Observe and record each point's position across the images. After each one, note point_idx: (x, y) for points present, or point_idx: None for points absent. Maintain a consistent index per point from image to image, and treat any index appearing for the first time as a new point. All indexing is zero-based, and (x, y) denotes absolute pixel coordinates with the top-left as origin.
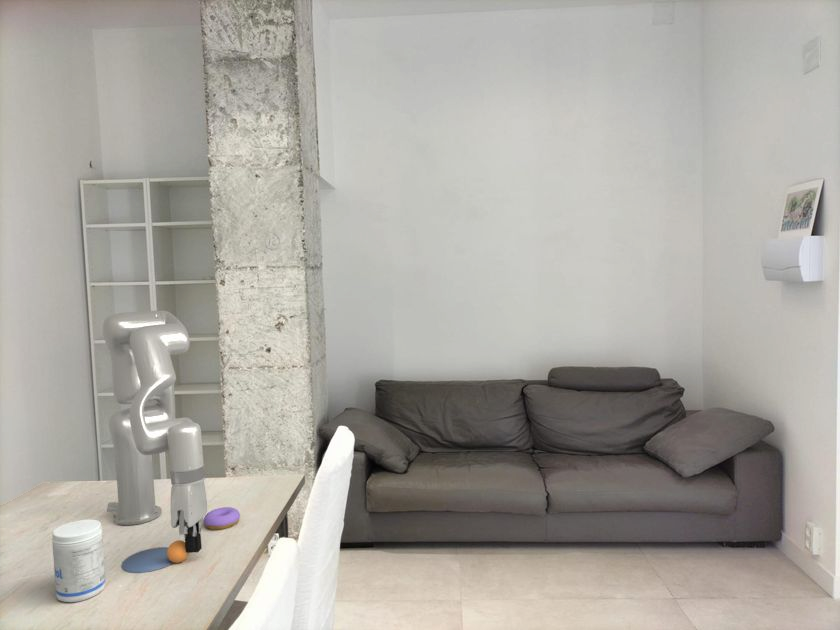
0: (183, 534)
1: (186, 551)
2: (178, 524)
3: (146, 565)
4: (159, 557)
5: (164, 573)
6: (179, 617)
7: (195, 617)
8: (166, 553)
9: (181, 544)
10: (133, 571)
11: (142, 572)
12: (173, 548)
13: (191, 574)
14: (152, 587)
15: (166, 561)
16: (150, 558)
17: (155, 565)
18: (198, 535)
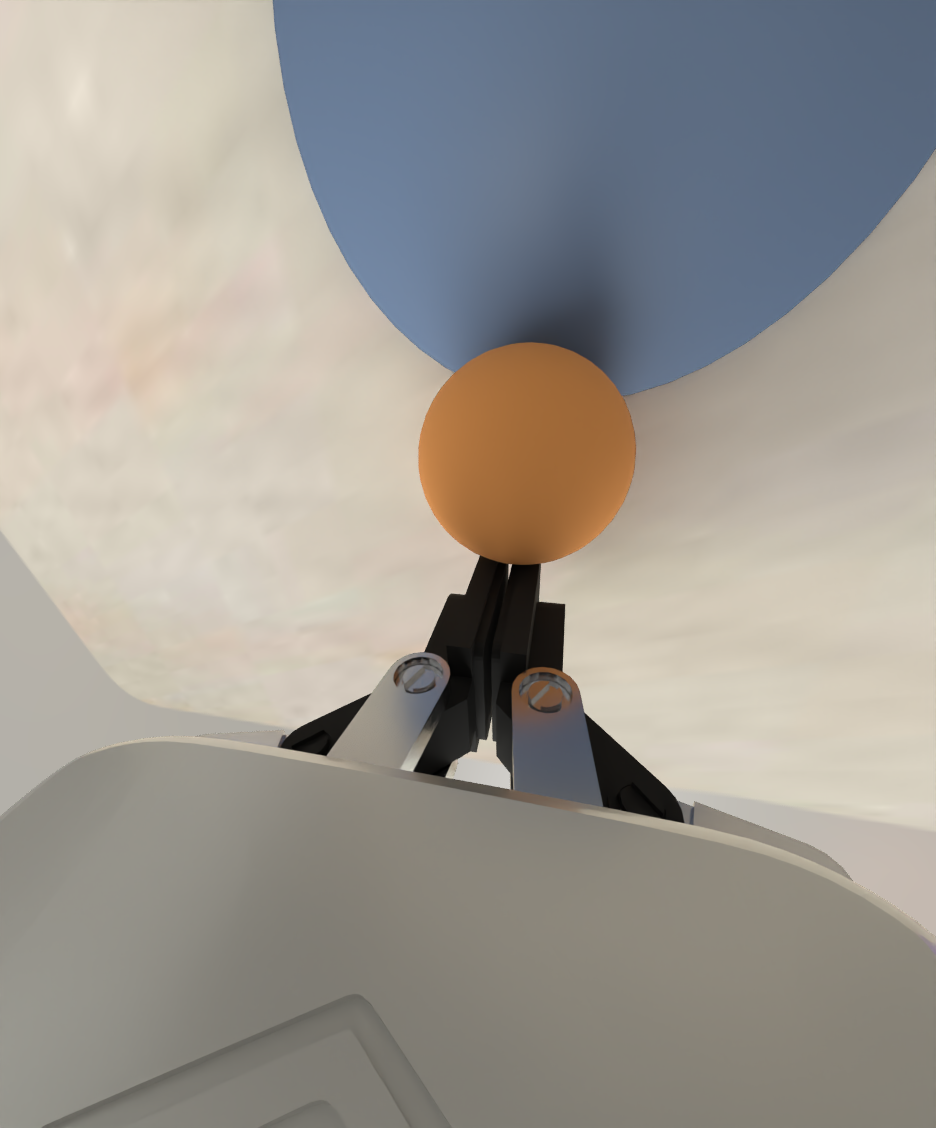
0: (381, 680)
1: (480, 557)
2: (312, 756)
3: (427, 103)
4: (626, 151)
5: (343, 405)
6: (94, 629)
7: (123, 670)
8: (736, 184)
9: (476, 547)
10: (278, 19)
11: (309, 165)
12: (427, 475)
13: (367, 579)
14: (180, 417)
15: (520, 316)
16: (611, 3)
17: (435, 237)
18: (475, 747)
